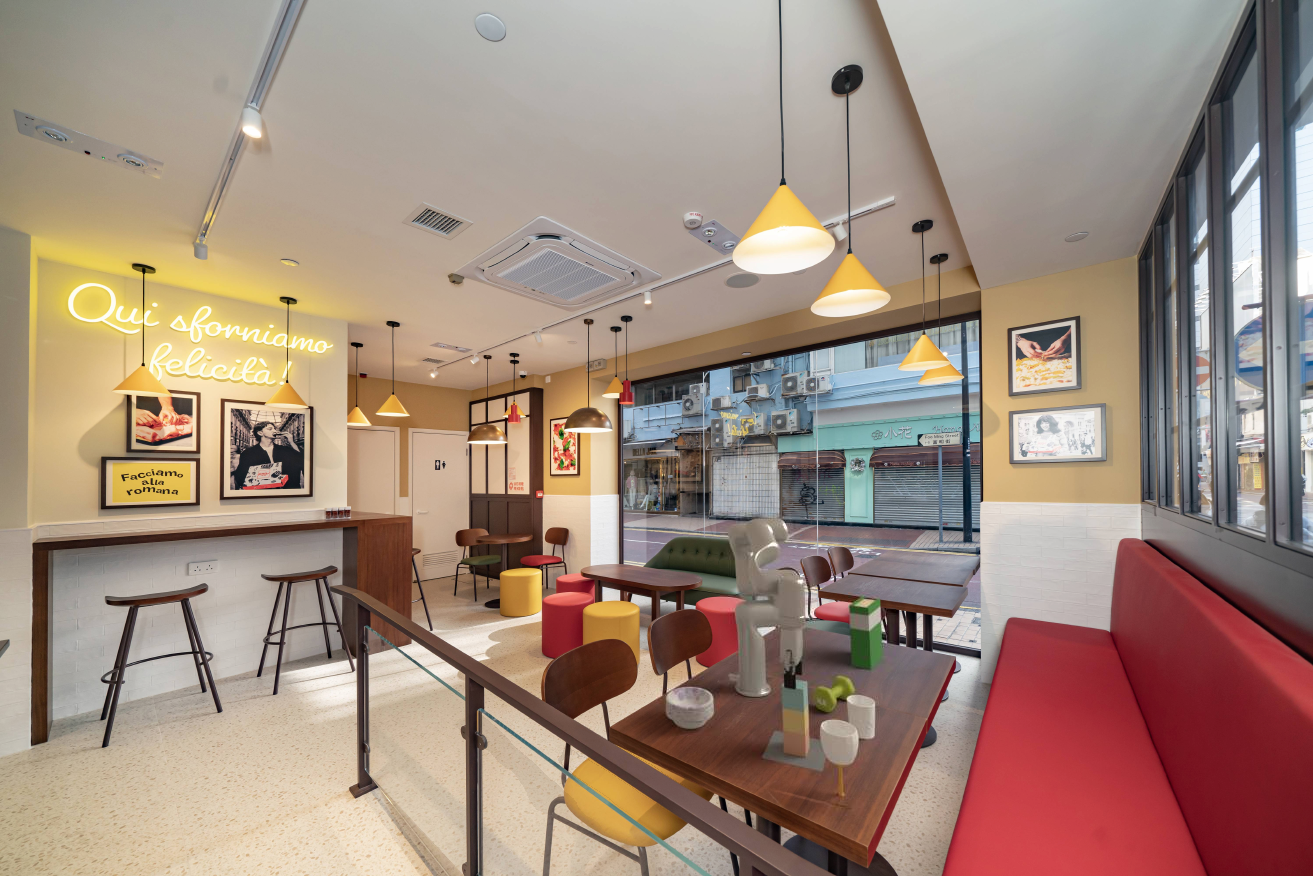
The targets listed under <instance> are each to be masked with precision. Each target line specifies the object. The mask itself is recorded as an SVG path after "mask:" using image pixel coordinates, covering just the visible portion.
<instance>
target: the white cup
mask: <svg viewBox="0 0 1313 876" xmlns="http://www.w3.org/2000/svg"><path fill="white" fill-rule="evenodd" d="M846 705H847V706H846V707H847V718H848V723H850V724H852V725H853V726H854V727H855V728H856V730H857V733H858V738H859V739H861V740H862V739H863V740H870V739H873V738H874V737H875V734H876V733H875V727H876V702H875V700H874V699H873V698H871V697H868V696H866V695H860V694H853V695H851V696H849V697H847V700H846Z"/></svg>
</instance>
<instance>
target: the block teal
mask: <svg viewBox="0 0 1313 876" xmlns="http://www.w3.org/2000/svg"><path fill="white" fill-rule="evenodd" d="M808 690H809V689H808V681H807V680H806V681H805V680H801V679H800V680H799V679H796V689H789V688H785V687H784V682H783V683H782V684H781V709H782V708H784V709H790V710H795V711H800V712H804V711H805V709H806V707H807V704H808V705H809V699H808V698H809V696H808V695H809V694H808V693H809V692H808Z"/></svg>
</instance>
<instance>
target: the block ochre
mask: <svg viewBox="0 0 1313 876" xmlns="http://www.w3.org/2000/svg"><path fill="white" fill-rule="evenodd" d="M781 709H782V731H783V730H784V731H789V732H794V733H799V734H804V735H805V734H806V731H807V729H808V726H809V725H810V719H809V718H810V717H809V716H810V715H809V703H808V704H807V707H806V709H805V711H804V712H800V711H795V710H790V709H784V708H782V707H781Z"/></svg>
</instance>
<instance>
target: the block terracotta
mask: <svg viewBox="0 0 1313 876" xmlns="http://www.w3.org/2000/svg"><path fill="white" fill-rule="evenodd" d="M782 732H783V742H784V753H788V754H792V755H797V756H801V757H806V756H807V753H808V750H809V747H810V745H809V738H810V727H809V726H808V729H807V731H806V734H805V735H804V734H799V733H794V732H789V731H784V730H783V729H782Z"/></svg>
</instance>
